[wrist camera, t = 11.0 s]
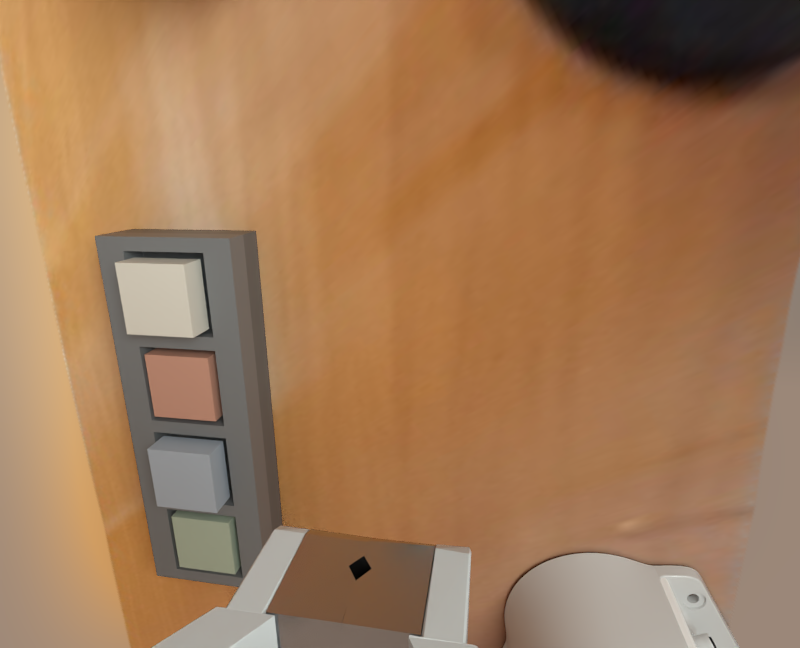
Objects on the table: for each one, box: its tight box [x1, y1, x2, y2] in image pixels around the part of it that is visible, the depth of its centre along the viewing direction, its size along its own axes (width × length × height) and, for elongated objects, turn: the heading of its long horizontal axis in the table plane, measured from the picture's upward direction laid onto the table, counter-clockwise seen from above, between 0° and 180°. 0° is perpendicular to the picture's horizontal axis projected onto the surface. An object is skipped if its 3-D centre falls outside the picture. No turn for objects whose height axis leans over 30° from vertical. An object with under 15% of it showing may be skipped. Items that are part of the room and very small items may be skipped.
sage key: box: [171, 510, 241, 574], centre depth 43 cm, size 5×5×2 cm
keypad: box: [95, 229, 283, 587], centre depth 41 cm, size 29×10×4 cm, turn 0°
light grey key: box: [147, 436, 230, 513], centre depth 39 cm, size 5×5×2 cm
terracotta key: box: [144, 348, 223, 421], centre depth 39 cm, size 5×5×2 cm
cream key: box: [115, 257, 209, 338], centre depth 35 cm, size 5×5×2 cm
